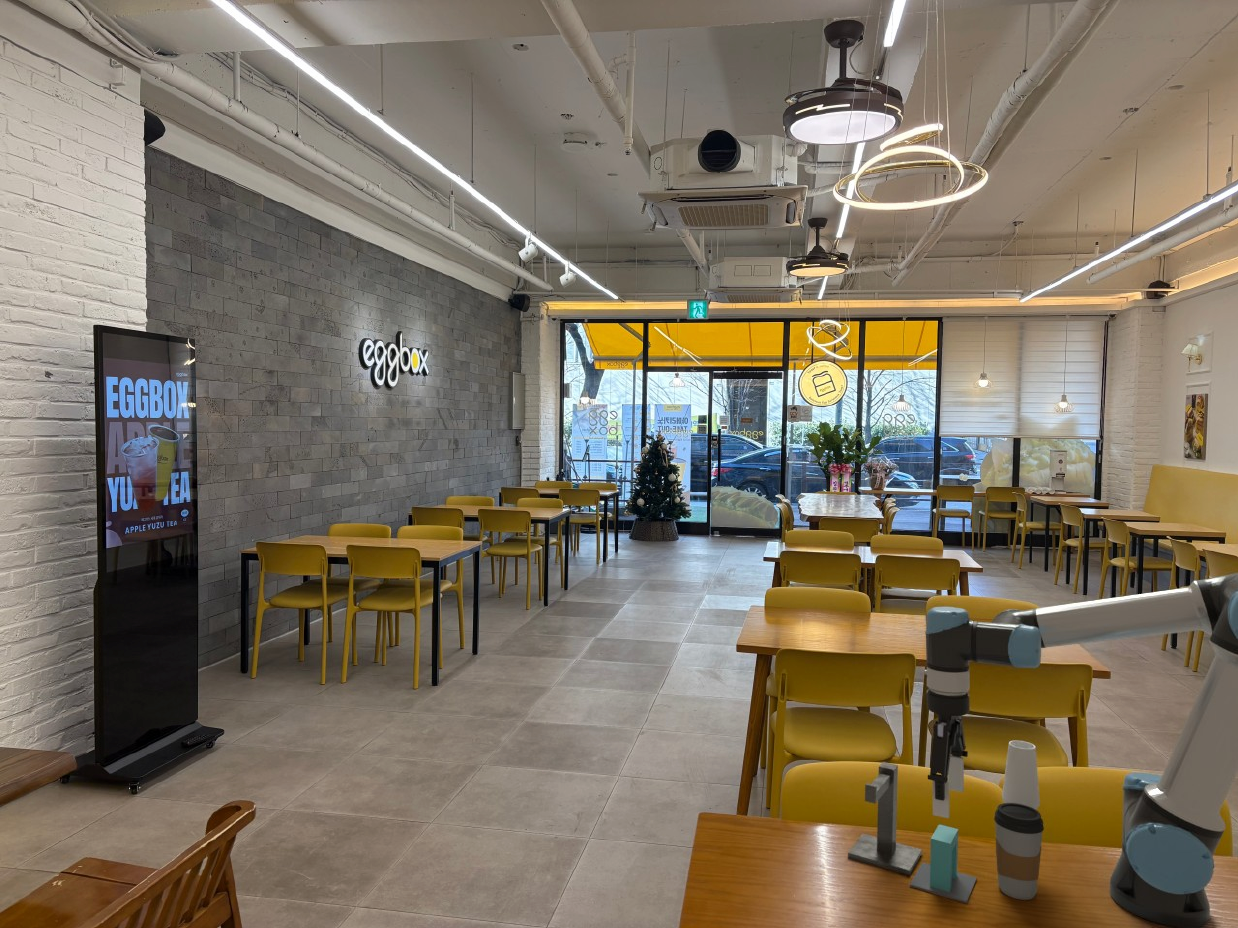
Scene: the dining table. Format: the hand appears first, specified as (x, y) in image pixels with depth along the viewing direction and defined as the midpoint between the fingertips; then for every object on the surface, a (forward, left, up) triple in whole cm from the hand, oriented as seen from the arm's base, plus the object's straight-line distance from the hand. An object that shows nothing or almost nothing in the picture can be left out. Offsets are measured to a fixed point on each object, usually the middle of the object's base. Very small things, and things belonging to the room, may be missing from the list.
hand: (948, 802), depth 152 cm
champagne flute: (-10, -16, -16) cm, 25 cm away
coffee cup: (-11, -5, -16) cm, 20 cm away
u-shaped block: (+1, 0, -15) cm, 15 cm away
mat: (+1, 0, -16) cm, 15 cm away
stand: (+13, -1, -16) cm, 20 cm away
